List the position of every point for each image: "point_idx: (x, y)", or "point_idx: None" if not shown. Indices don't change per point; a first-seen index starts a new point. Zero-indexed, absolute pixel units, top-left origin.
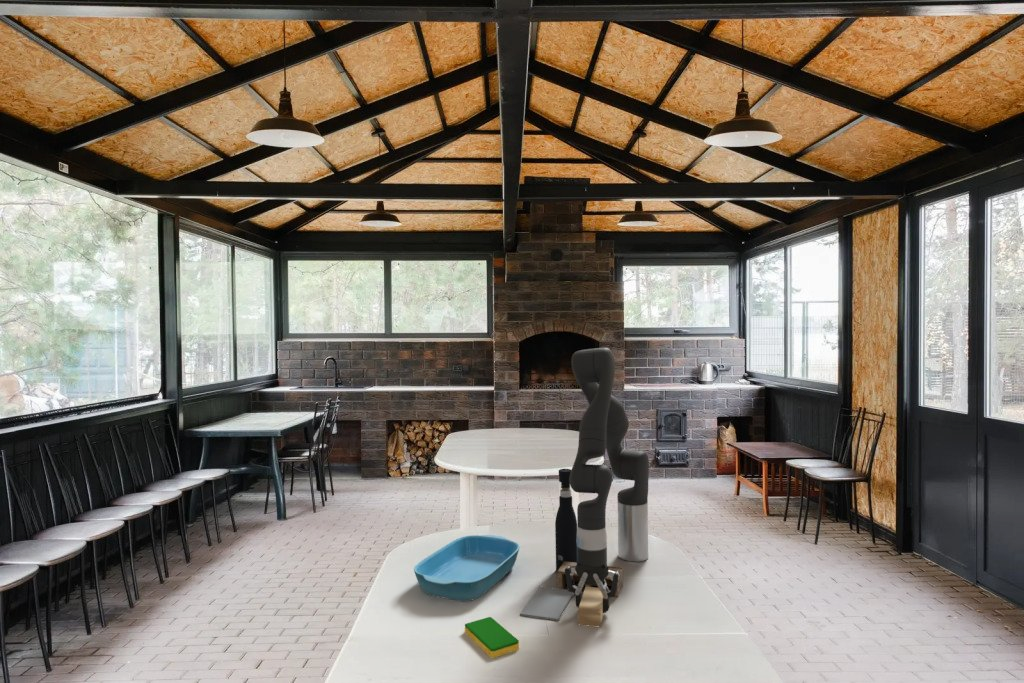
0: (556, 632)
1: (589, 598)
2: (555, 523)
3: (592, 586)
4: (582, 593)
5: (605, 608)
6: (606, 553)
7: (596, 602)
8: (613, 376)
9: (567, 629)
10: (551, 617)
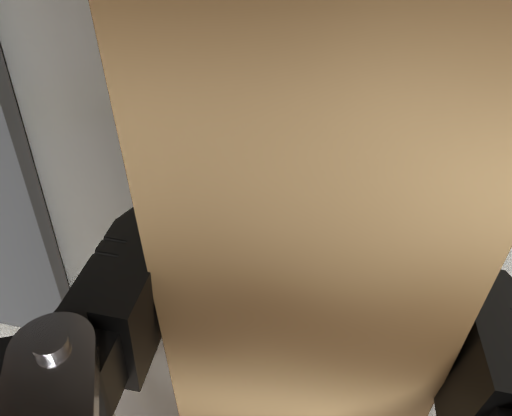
0: (125, 407)
1: (256, 313)
2: None
3: None
4: (133, 305)
5: None
6: None
7: (354, 385)
8: None
9: (170, 391)
10: (21, 324)
